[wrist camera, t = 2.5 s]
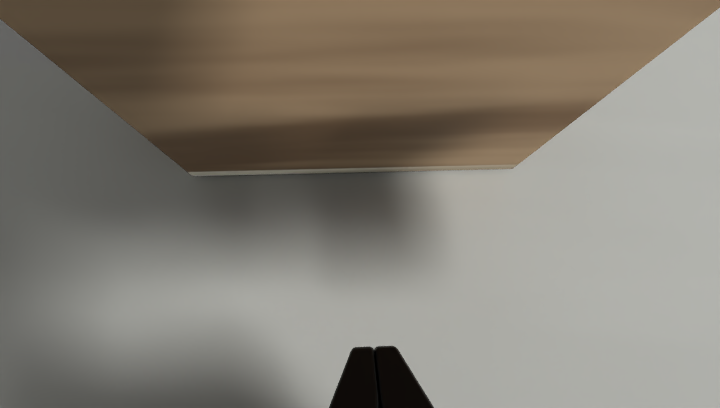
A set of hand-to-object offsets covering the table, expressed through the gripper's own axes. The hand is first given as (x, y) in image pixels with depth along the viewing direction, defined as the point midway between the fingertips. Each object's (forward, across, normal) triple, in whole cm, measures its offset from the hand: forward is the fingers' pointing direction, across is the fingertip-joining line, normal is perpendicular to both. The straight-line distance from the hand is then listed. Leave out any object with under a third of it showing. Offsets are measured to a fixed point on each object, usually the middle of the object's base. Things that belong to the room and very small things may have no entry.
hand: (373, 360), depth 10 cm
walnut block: (+11, 0, 0) cm, 11 cm away
